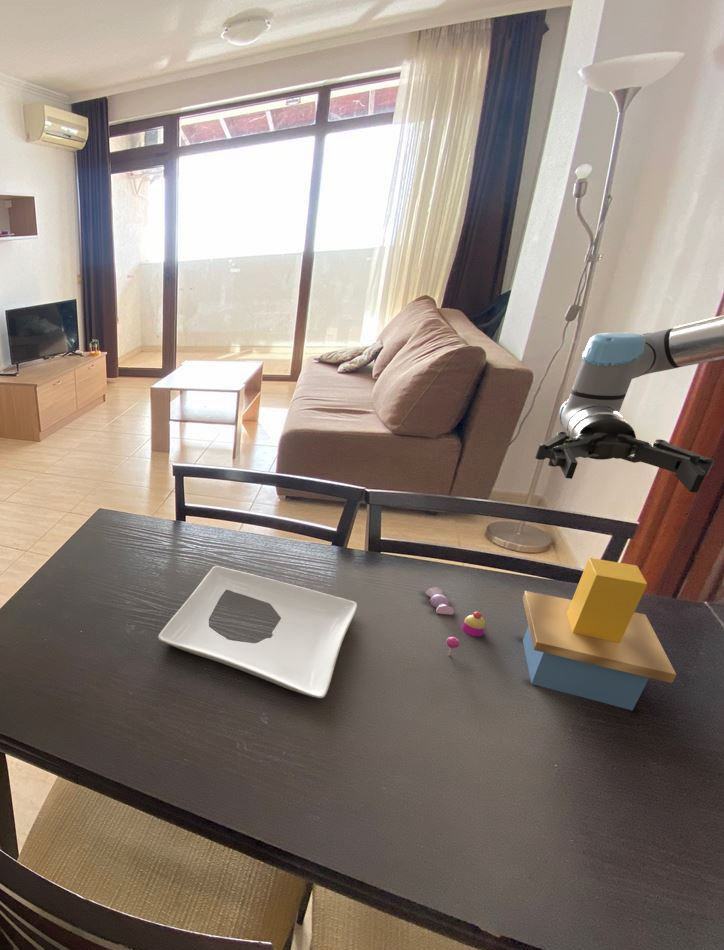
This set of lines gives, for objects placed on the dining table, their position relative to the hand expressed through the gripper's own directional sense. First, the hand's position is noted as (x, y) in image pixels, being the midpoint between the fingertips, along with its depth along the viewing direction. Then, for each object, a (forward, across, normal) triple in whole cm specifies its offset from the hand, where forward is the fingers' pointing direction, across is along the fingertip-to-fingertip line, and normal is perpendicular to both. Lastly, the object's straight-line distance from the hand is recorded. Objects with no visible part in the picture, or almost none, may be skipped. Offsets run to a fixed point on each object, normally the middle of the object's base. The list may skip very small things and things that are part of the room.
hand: (632, 477), depth 81 cm
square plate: (+26, +46, -28) cm, 60 cm away
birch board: (+15, +2, -20) cm, 25 cm away
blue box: (+15, +2, -28) cm, 32 cm away
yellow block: (+15, +2, -18) cm, 24 cm away
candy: (+10, +17, -28) cm, 34 cm away
